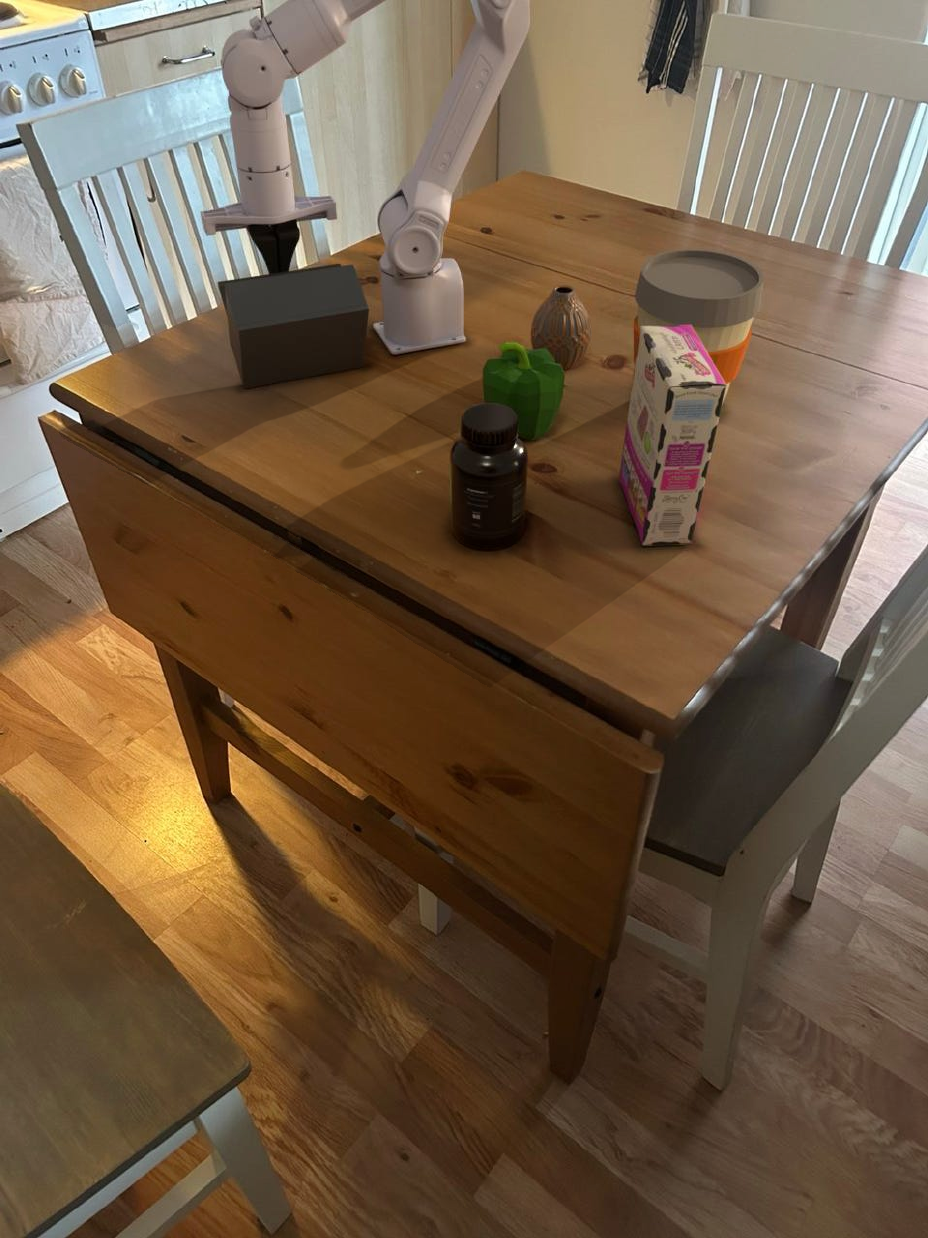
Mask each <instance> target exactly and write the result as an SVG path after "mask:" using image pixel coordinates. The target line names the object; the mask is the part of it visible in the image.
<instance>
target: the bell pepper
mask: <svg viewBox="0 0 928 1238" xmlns="http://www.w3.org/2000/svg"><path fill="white" fill-rule="evenodd" d="M498 347H499V350H500V351H501V356H500V357H492V358H488V359H487V360H486V363H485V364H484V366H483V368H482V393H483V401H484V403H497V404H502V405H505V406H507V407H510V408H511V409H512V410H514V412H516V415H517V417H518V438H521V439H523V440H529V441H534V440H537V439H540V438H543V437H544V436H545V435H546V434H547V433H548V432H549V430H550V429H551V427H552V426H553V425H554V422H555V420H556V417H557V416H558V415H557V414H558V413H559V409H560V405H561V402H562V400H563V396H564V388H565V378H566V377H565V371H564V369H562V366H561V364H557V363H555V360H554V358H553V356H552V355H551V354H550V353H549V351H548V350H547V349H546V348H542V349H535V350H533V349H527V348H525V346H523V345H522V344H520V343H519V342H516V341H504V342H502V343H500V344H498Z"/></svg>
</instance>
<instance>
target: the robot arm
mask: <svg viewBox="0 0 928 1238" xmlns="http://www.w3.org/2000/svg"><path fill="white" fill-rule="evenodd" d="M385 1H386V0H286V1H284V2H283V3H282V4H281V5H279V6H278V7H276V8H274V9H273V10H272V11H270V12H269V13H267V14H266V15H265V16H263V17H262V18H261V19H260V17H259V16H258V15H255V16H253V17H252V18H251V19H249V26H250V28H249V29H246V28H242V29H238V30H236V31H235V32H233V33H231V34H230V35H229V36H228V38H227V39H226V40H225V42H224V45H223V47H222V50H221V59H220V66H221V73H222V79H223V82H224V85H225V87H226V89H227V91H228V96H227V104H228V109H229V111H230V116H229V125H230V132H231V139H232V140H231V141H232V146H233V152H234V161H235V167H236V173H237V180H238V188H239V194H240V201H239V202H236V203H232V204H227V205H224V206H221V207H220V206H219V207H216V208H212V209H207V210H201V211H200V218H201V223H202V229H203V232H204V234H205V236H215V235H216V234H217V233H218V232H219V233H220V232H226V231H235V230H236V231H237V230H244V229H246V231H247V232H248V234H249V236H250V238H251V240H252V241H253V243H254V245H255V246H256V248H257V250H258V251H259V253H260V255H261V257H262V259H263V262H264V265H265V267H266V269H267V272H268V274H273V273H280V272H286V271H290V268H291V263H292V259H293V256H294V252H295V250H296V247H297V245H298V243H299V241H300V237H301V230H300V228H299V226H298V223H299V222H306V221H307V222H308V221H315V220H322V219H326V220H328V221H332V220H333V221H334V220H338V214H337V202H336V201H335V199H334V197H333V196H332V195H325V196H324V195H323V196H295V190H294V181H293V179H294V178H293V172H292V171H293V170H292V162H291V151H290V143H289V134H288V125H287V117H286V113H284V111H283V102H282V93H283V90H284V87H285V82H286V80H291V79H295V78H297V77H298V76H300V75H301V74H303V73H304V72H306V71H308V70H309V69H311V68H312V67H313V66H315V65H316V64H317V63H319V62H320V61H322V60H323V59H325V58H327V57H328V56H330V54H332V53H334V52H335V51H337V50H339V48H341V47H343V46H344V45H345V44H346V43H347V42H348V39H349V32H350V27H351V25H352V22H353V21H355V20H356V19H358V18H360V17H361V16H363V15H364V14H366V13H367V12H369V11H371V10H372V9H375V8H376V7H377V6H379V5H381V4H382V3H385ZM470 3H471V7H472V11H473V13H474V16H475V24H474V26H473V28H472V30H471V33H470V35H469V37H468V40H467V42H466V44H465V46H464V48H463V51H462V54H461V56H460V59H459V60H458V63H457V65H456V67H455V70H454V71H453V75H452V77H451V78H450V81H449V84H448V86H447V87H446V90H445V92H444V95H443V97H442V99H441V101H440V104H439V106H438V108H437V111H436V112H435V113H436V114H435V116H434V117H433V120H432V121H431V122H432V123H431V125H430V126H429V129H428V132H427V134H426V136H425V139H424V141H423V143H422V145H421V147H420V150H419V152H418V155H417V157H416V159H415V160H414V164H413V166H412V168H411V169H410V170H409V171H408V172H407V173H405V175H404V176H403V177H401V180H400V181H399V185H398V186H397V188H396V189H395V191H394V192H393V193H392V194H391V195H390V196H389V197H387V198H386V199H385V200H384V201H383V203H381V206H380V208H379V210H378V213H377V219H376V223H377V228H378V232H379V233H380V236H381V237H382V240H383V243H384V246H385V248H384V252H383V253H382V255H381V256H380V258H379V260H378V261H379V263H378V264H379V276H380V277H379V278H380V280H379V281H380V292H381V311H382V321H379V322H375V323H373V324H372V327H373V329H374V331H375V332H376V334H377V335H378V337H379V338H380V340H381V341H382V343H383V344H384V346H385V347H386V348H387V351H388V352H389V353H390V354H391V355H401V354H406V353H407V354H408V353H412V352H418V351H423V350H428V349H429V350H430V349H433V348H434V349H435V348H440V347H447V346H451V345H457V344H462V343H465V342H466V341H467V339H466V336H465V334H464V333H465V331H464V327H465V326H464V324H465V323H464V322H465V321H464V316H465V315H464V308H465V307H464V302H465V300H464V299H465V298H464V295H465V294H464V293H465V292H464V291H465V290H464V282H463V276H462V273H461V269H460V267H459V265H458V263H457V261H456V260H455V259H454V258H452V257H446V258H443V257H442V255H443V250H444V243H443V242H444V240H443V239H444V235H445V231H446V228H447V226H448V224H449V222H450V215H451V208H452V207H451V206H452V199H453V194H454V192H455V190H456V188H457V186H458V184H459V181H460V179H461V177H462V176H463V173H464V170H465V168H466V167H467V164H468V163H469V161H470V158H471V156H472V154H473V151H474V150H475V147H476V145H477V143H478V142H479V139H480V137H481V134H482V132H483V129H484V128H485V125H486V124H487V121H488V120H489V117H490V115H491V114H492V111H493V109H494V106H495V104H496V103H497V100H498V98H499V96H500V94H501V91H502V89H503V87H504V85H505V83H506V81H507V78H508V77H509V75H510V72H511V70H512V68H513V65H514V64H515V62H516V59H517V57H518V56H519V52H520V50H521V49H522V47H523V45H524V43H525V40H526V38H527V36H528V32H529V30H530V25H531V10H530V9H531V6H530V3H531V1H530V0H470Z"/></svg>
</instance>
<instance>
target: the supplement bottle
mask: <svg viewBox="0 0 928 1238" xmlns="http://www.w3.org/2000/svg"><path fill="white" fill-rule="evenodd" d="M460 421H461V423H460V424H461V427H460V436H459V437H458V438H457V439H456V440H455V441H454V443H453V444H452V446H451V448H450V451H449V504H450V506H449V508H450V509H449V511H450V512H449V513H450V517H449V518H450V529H451V532H452V534H453V536H454V537H455V538H456V540H458V542H460V543H461V544H463V545H464V546H466V547H468V548H471V549H475V550H480V551H497V550H502V549H504V548H507V547H509V546H512V545H513V544H515V543H516V542H517V541H519V539H520V538H521V536H522V534H523V532H524V530H525V529H524V528H525V520H526V519H525V518H526V502H527V501H526V500H527V483H528V465H529V453H528V450H527V447H526V445H525V444H524V442H523V440H522V439H520V437H519V436H518V417H517V415H516V412H514V410H512V409H511V408H510V407H507V406H505V405H502V404H497V403H485V402H483V403H478V404H473V405H471V406H470V407H467V408H466V410H464V411H463V412H462V414H461V420H460Z"/></svg>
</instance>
